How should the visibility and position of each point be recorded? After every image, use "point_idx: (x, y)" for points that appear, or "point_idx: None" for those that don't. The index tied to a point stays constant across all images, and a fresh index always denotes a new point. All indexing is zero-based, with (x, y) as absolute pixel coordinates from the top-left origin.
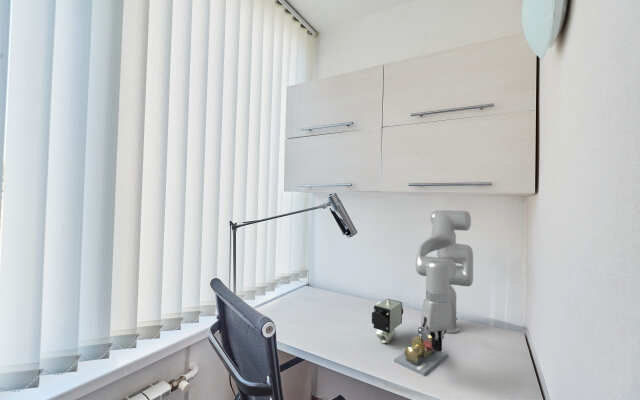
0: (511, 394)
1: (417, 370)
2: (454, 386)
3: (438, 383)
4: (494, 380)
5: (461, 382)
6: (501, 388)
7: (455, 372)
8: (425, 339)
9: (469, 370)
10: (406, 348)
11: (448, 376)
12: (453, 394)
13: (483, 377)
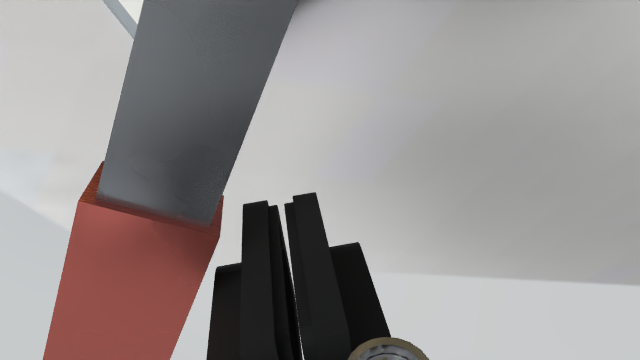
0: (582, 282)
1: (121, 21)
2: (335, 207)
3: (243, 171)
4: (636, 181)
5: (415, 177)
6: (588, 243)
7: (476, 64)
8: (158, 152)
9: (607, 56)
10: None
11: (378, 105)
12: None
13: (608, 147)
